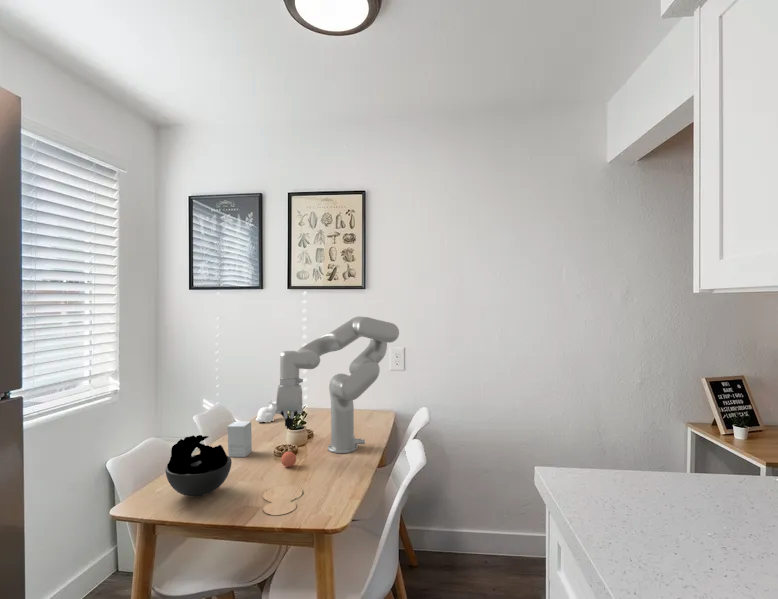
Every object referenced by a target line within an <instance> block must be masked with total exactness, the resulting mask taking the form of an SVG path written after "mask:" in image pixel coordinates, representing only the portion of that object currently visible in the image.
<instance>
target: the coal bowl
mask: <svg viewBox="0 0 778 599" xmlns="http://www.w3.org/2000/svg"><path fill="white" fill-rule="evenodd" d="M209 437H210V436H207V435H204V436H203V435H202V434H198V435H194V434H193V435H191V436H186V437H185V436H184V439H182V438H181V439H179V440H178V441H177V442H176V443H174V445H172V447H171V449H170V451H171V452H170V459H169V462H168V463H167V465H166V466H165V477H166V479H167V481H168V483H169V484H170V487H171V488H172V489H173V490H174V491H176V492H177V493H179V494H180V495H183V496H186V497H189V498H190V497H192V498H199V497H203V496H207V495H209V494H211V493H213V492H214V491H216V490H218V489H219V488H220V487H221V486H222V485H223V484H224V482H225V480H226V479H227V478H228V477H229V474H230V471H231V468H232V462H233V460H232V457H229V456H228V455H227V453H226V451H225V449H224V447H223V446H222V445H221V444H219V445H217V446H216V445H215V446H211V445H205V444H204V443H202V442H203V441H205V440H206V439H209ZM196 449H199V453H198V454H193V453H194V451H195V450H196Z"/></svg>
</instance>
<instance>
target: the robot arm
mask: <svg viewBox="0 0 778 599" xmlns="http://www.w3.org/2000/svg"><path fill="white" fill-rule="evenodd" d="M399 335H400V329H399V327H398V326H397V325H396V324H394V323H392V322H390V321H384V320H379V319H375V318H373V317H369V316H359V315H358V316H355V317H353V318H351V319H349V320H348V321H346V322H345V323H344V324H341V325H340V326H339V327H337V328H335V329H333V330H332V331H331V332H329V333H326V334H324V335H322V336H320V337H318V338H315V339H314V340H312V341H310V342H309V343H306V344H305V345H304V346H302V347H300V349H298V350H284V351H281V352H280V357H279V359H280V360H279V361H280V363H279V364H280V365H279V385H277V390H276V399H275V401H276V411H275V413H276V415H281V416H282V417H283V419H284V427H286V430H291V429H292V427H293V426H294V418H295V417H296V416H297V415H300V414H302V413H303V389H302V384H301V383H303V382H304V379H303V378H300V369H301V370H302V369H303V370H314V369H316V368H317V367H318V366H320V363H321V358H320V357H322V356H323V355H325V354H328V353H332V352H333V353H334V352H336V351H340V350H342V349H345V348H346V347H347V346H349V345H351V344H352V343H354V342H355V341H357V340H358V339H359V338H361V337H362V338H367V339H370V341H369V344H368V345H367V346H366V348H364V350H363V351H362V352H360V354H359V355H357V357H355V358H354V359H353V360H352V361H351V362H350V365H348V366H349V367H348V371H349V373H350V375H348V374H347V373H346V374H345V373H337V374H334V375H333V376H332V377H331V379H330V380H329V386H328V389H329V397H330V435H331V436H330V438H331V439H330V444H328V445H327V450H328V452H330V453H334V454H347V453H352V452H355V451H357V449H358V445H366V444H365V443H366V442H365V439H363V438H356V437H355V429H354V428H355V426H354V425H355V424H354V423H355V422H354V414H355V413H354V409H355V408H354V407H355V406H354V401H355V400H356V399H358V398H360V397H361V396H362V395H363V394H364V393H365V391H367V390H368V389H369V388H370V387H371V386H372V385H373V384H374V383H375V382H376V380H377V379H378V377H379V375H380V370H381V369H380V365H379V363H380V362H381V361H382V360H383V359H384V358H385V356H386V353H387V350H388V349H387V348H388V343H394V342H395V341H396V340H397V339H398V338H399ZM288 412H290V416H289V415H288Z"/></svg>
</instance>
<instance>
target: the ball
mask: <svg viewBox="0 0 778 599" xmlns="http://www.w3.org/2000/svg"><path fill="white" fill-rule="evenodd" d="M280 461H281V464H282V466H284V467H285V468H291V467H293V466H294V465H295V464H296V462H297V456H296V454H295V453H294V452H293V451H286V452H284V453H283V454H282V456H281V459H280Z"/></svg>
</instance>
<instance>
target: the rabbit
mask: <svg viewBox="0 0 778 599" xmlns="http://www.w3.org/2000/svg"><path fill="white" fill-rule="evenodd" d="M268 404H269V406H267V407H266V406H264V407H261V408H259V410H258V411H257V417H256V418H255V422H257V423H259V422H269V421H273V419H275V418H274V417H275V416H276V415H277V414H276V413H275V411H276V400H275V401H272V400H271V399H270V398H269V400H268Z"/></svg>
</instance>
